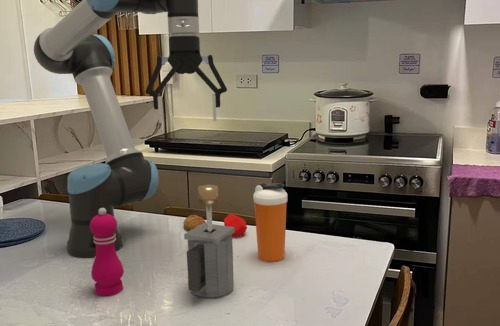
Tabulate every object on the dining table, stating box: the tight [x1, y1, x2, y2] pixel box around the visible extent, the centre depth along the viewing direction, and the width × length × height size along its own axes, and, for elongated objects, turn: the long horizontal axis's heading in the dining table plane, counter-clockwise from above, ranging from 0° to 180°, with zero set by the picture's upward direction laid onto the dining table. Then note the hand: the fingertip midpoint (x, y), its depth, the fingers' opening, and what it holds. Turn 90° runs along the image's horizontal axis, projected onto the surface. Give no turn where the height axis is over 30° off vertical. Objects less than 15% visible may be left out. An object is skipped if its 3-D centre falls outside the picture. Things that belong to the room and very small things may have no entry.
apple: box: [223, 213, 248, 238], centre depth 158 cm, size 7×7×8 cm
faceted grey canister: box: [183, 222, 235, 300], centre depth 119 cm, size 10×13×14 cm
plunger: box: [197, 184, 219, 233], centre depth 119 cm, size 7×7×20 cm
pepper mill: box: [90, 208, 124, 297], centre depth 121 cm, size 7×7×20 cm
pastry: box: [182, 214, 207, 232], centre depth 163 cm, size 9×7×4 cm
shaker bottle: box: [252, 181, 288, 263], centre depth 138 cm, size 9×9×20 cm
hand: (188, 121), depth 134 cm, fingers open, 13 cm apart
